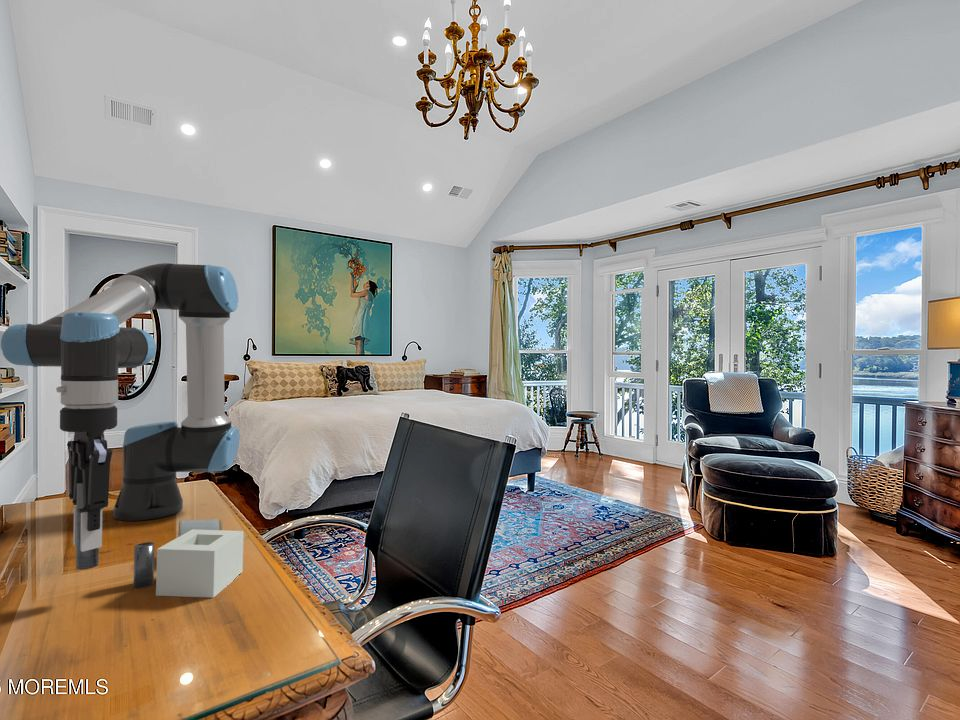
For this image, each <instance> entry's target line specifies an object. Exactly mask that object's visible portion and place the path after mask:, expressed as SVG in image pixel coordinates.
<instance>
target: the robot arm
mask: <svg viewBox="0 0 960 720" xmlns="http://www.w3.org/2000/svg"><path fill="white" fill-rule="evenodd" d="M238 303H239V292H238V288H237V284H236V280H235V278H234V275H233V274H232V273H231V271H230V270H229V269H228V268H226V267H224V266H219V265H218V266H217V265H211V264H184V263H169V262H168V263H167V262H166V263H165V262H163V263H155V264H150V265H147V266H142V267H140V268H136V269H134V270H131V271H129V272H127V273H125V274H123V275H121V276H118V277H117V278H116V279H114V280H113V281H112V283H111V285H110V286H109V287H108V288H106V289H104V290H102V291H100V292H99V293H97V294H95V295H93V296H91V297H89V298H87V299H85V300H83V301H81V302H79V303H77V304H76V305H74V306H72V307H70V308H68V309H66V310H65V311H62V312H60V313H58V314H56V315H55V316H52V317H51V318H49V319H47V320H45V321H44V322H41V323H39V324H32V323H24V324H13V325H10V326H9V327H8V328H6V329H5V331H4V332H3V334H2V336H1V340H0V349H1V351H2V355H3V357H4V359H5V360H6V361H8V362H9V363H10V364H13V365H16V366H26V367H33V368H39V367H56V368H57V367H59V368H60V386H57V387H55V389H56V392H57V393H60V404H61V405H63V406H65V407H62V408H61V409H60V410H59V429H60V430H61V431H63V432H68V433H74V434H73V435H74V436H73V440H68V441H67V444H66V446H67V453H68V485H69V486H68V489H69V491H68V498H69V499H70V500H72V505H73V542H72V545H73V546H74V547H76V514H77V483H79V482H82V481H83V505H84V507H83V508H82V509H78V512H79V513H81V542H80V551H81V552H83V551H87V550H91V549H95V548H99V549H100V548H102V547H103V509H104V508H108V506H109V492H110V472H111V460H112V456H113V450H112V448H108V441H107V439H105V431H106V430H112V429H114V428H116V427H117V426H118V407H117V406H116V405H114V404H116V403H117V402H119V379H118V377H119V376H118V374H119V370H118V369H125V368H126V369H136V368H137V367H143V366H145V365H147V364H148V363H150V362H152V360H153V359H154V357H155V355H156V352H157V344H156V340H155V339H154V337H153V336H152V335H151V334H150V333H149V332H148V331H145V330H143V329H139V328H137V327H123V326H121V327H120V325H121V324H123V323H124V322H126V321H128V320H129V319H131V317H133V316H135V315H136V314H137V315H141V314H145V313H147V312H149V311H151V310H176V311H178V319H180V320H181V321H182V322H183V323H184V324H185V347H186V351H185V352H186V390H187V391H186V393H187V394H186V395H187V402H186V403H187V416H186V417H185V418H184V419H183V420H182V421H181V423H180V426H179V424H178V422H177V421H175V420H173V421H162V422H153V423H147V424H146V423H145V424H141V425H135V426H131V427H130V428H128V429H126V430H125V432H124V436H123V443H122V449H123V450H122V454H123V455H122V456H123V457H122V462H123V463H122V484H121V485H122V486H121V488H120V491H119V493H118V496H117V498H116V501H115V504H114V506H113V514H112V515H113V518H114V519H116V520H118V521H127V522H131V521H132V522H135V521H136V522H138V521H149V520H154V519H160V518H164V517H168V516H172V515H175V514H177V513H179V512H181V511H182V510H183V508H184V507H183V506H184V500H183V496H182V494H181V491H180V487H179V485H178V483H177V473H194V472H195V473H199V472H201V473H202V472H203V473H215V472H223V471H227V470H228V469H229V468H231V467H232V465H233V463H234V461H235V460H236V457H237V455H238V450H239V444H240V436H241V435H240V430H239V428H238V427H235V426H232V419H231V418H230V417H229V416H228V415H227V414H226V413H225V412H226V410H225V409H226V406H225V404H226V403H225V400H226V399H225V398H226V397H225V342H224V341H225V340H224V339H225V337H224V335H225V333H224V332H225V331H224V326H225V324H226V323H227V322H228V321H229V320H230V319H231V313H234V312H235V311H236V310H237V309H238V307H239V306H238Z"/></svg>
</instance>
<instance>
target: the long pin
mask: <svg viewBox="0 0 960 720" xmlns="http://www.w3.org/2000/svg"><path fill="white" fill-rule="evenodd" d="M83 507H84V505H83V481H82V482H79V483H77V514H76V546H75V569H76V570H77V571H79V570H81V571H82V570H89V569H93V568H96V567H97V566H98V565H99V564H100V562H99V561H100V559H99V557H100V554H99V553H100V550H99V549H100V547H99V548H95V549H91V550H87V551H83V552H81V551H80V542H81V513H79V512H78V509H82V508H83Z"/></svg>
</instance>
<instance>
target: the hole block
mask: <svg viewBox="0 0 960 720" xmlns="http://www.w3.org/2000/svg"><path fill="white" fill-rule="evenodd" d="M244 532H245V531H244V530H225V529H223V530H196V529H192V530H190V531H188V532H187V533H185V534H183V535H181V536H179V537H178V536H177V537H176V538H174V539H173V540H171V541H169V542H167V543H165V544H163V545H162V546H160V547H158V548H157V549H156V573H155V574H156V578H155V579H156V581H155V597H180V598H181V597H184V598H188V597H189V598H209V599H211V598H212V599H214V598H215V597H216V596H217V595H219V594H220V593H221V592H222V591H223V590H224V589H225V588H226V587H228V586H229V585H230V584H232V583H233V580H234V579H235V578H236V577H237V576H238V575H239V574H240V573H242V572H243V571H244V570H243V567H244V565H243V564H244V538H245V537H244ZM242 574H243V573H242ZM238 577H239V576H238ZM238 577H237V578H238ZM237 578H236V579H237ZM236 579H235V580H236ZM235 580H234V581H235ZM227 585H228V586H227Z"/></svg>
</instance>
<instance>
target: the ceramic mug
mask: <svg viewBox="0 0 960 720" xmlns="http://www.w3.org/2000/svg"><path fill="white" fill-rule="evenodd" d="M223 523H224V522H223V521H222V520H221V519H214V518H212V519H211V518H209V519H192V520H191V519H190V520H187V519H186V520H180V521H179V522H178V533H177V535H178V536H177V538H178V537H179V536H181V535H183V534H185V533H187V532H188V531H190V530H192V529H196V530H224V524H223Z"/></svg>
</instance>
